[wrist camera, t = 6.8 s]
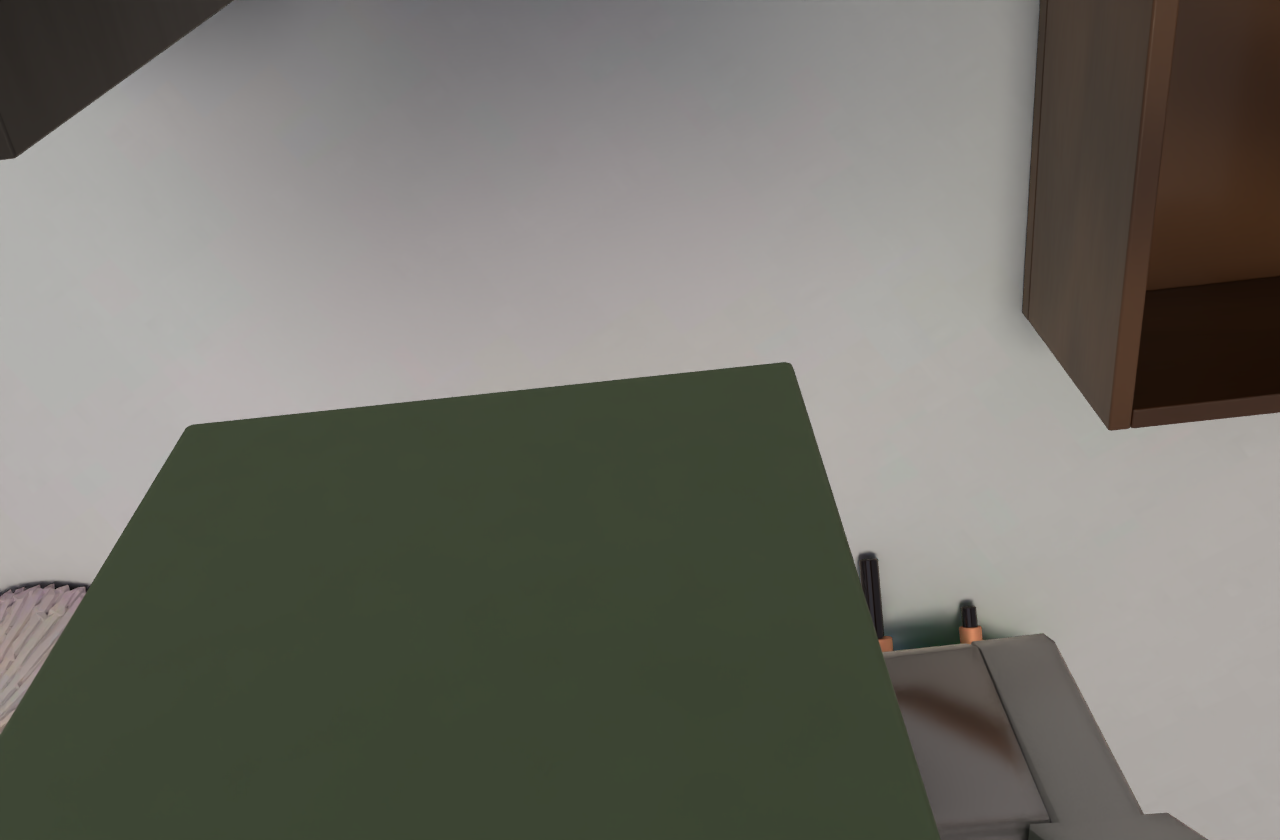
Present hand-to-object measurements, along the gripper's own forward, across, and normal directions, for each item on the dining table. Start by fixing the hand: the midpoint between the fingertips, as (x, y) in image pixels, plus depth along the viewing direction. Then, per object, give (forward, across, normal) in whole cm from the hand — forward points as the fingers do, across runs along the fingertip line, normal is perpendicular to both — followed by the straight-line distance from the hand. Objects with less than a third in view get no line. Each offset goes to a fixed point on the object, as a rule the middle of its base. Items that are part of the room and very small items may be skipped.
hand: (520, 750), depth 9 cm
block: (+1, 0, 0) cm, 1 cm away
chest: (+33, -20, +6) cm, 40 cm away
